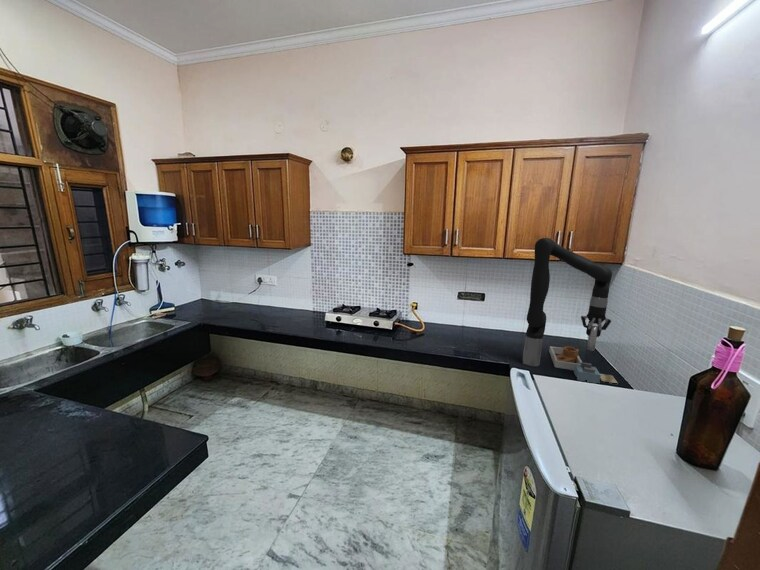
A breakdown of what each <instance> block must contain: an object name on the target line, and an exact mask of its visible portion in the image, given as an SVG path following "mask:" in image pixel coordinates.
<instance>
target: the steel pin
mask: <svg viewBox="0 0 760 570" xmlns="http://www.w3.org/2000/svg"><path fill="white" fill-rule="evenodd" d="M590 329H591V330H590V336H588V337H587V343H586V348H585V349H586V350H588V351H592V352H593V351H595V349H596V345H597V338H598V337H597V333H598V325H594V324H593V325H592V326H591V328H590Z"/></svg>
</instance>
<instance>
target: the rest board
mask: <svg viewBox="0 0 760 570" xmlns="http://www.w3.org/2000/svg"><path fill="white" fill-rule="evenodd" d="M600 375H601V377H600V382H602V381H603V382H602V383H605V382H609V383H608V384H612V383H617V384H616V385H618V384H619V382H618V381H617V380H616V379H615V377H614V375H611V374H605V373H600Z"/></svg>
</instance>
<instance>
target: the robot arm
mask: <svg viewBox="0 0 760 570" xmlns="http://www.w3.org/2000/svg"><path fill="white" fill-rule="evenodd" d="M551 256H552V257H555V258H557V259H559V260H561V261H563V262H564V263H566V264H567V265H568V266H570V267H572V268H574V269H576V270H578V271H580V272H582V273H585V274H587V275H588V276H590V277H591V278H593V279H594V285H593V286H592V291H591V297H590V300H589V306H588V311H587V312H588V313H587V314H586V315H581V316H580V318H581V322H582V326H583V328H585V329H586V332H585V334H586V335H587V336H588V337H589V336H590V330H591V329H590V328H591V326H592V325H593V326H594V325H596V326H598V333H597V338H599V337H600V336H601V333H602V331H606V330H607V329H608V327H609V326H610V324H611V323H612V320H611V319H610V318H607V317H606V314H607V307H608V301H609V300H608V299H609V298H608V297H609V294H610V293H609V292H610V284H611V281H612V277H613V272H612V270H611V268H609V267H606V266H603V265H602V266H601V265H599V264H597V263H595V262H594V261H593V260H591V259H588V258H587V257H584V256H582V255H580V254H577V253H575V252H573V251H571V250H569V249H567V248H564V247H563V246H562V245H560V244H558V243H557V242H555V241H554V240H553V239H552V238H550V237H542V238H539V239H538V240H537V241H536V242H535V243H534V262H533V270H532V275H531V282H530V292H529V293H530V295H529V306H528V310H527V314H526V321H527V323H528V325H527V329H526V331H525V332H526V333H525V339H524V340H525V341H524V345H523V350H522V351H523V352H522V364H523V365H527V366H530V367H539V366H540V363H541V355H542V348H543V340H544V336H545V335H544V334H545V331H546V325H547V314H546V312H544V305H545V301H546V299H547V296H548V293H549V289H550V280H551V274H550V267H549V265H550V258H551ZM586 320H588V321H587V322H588V323H587V322H586ZM603 322H604V323H603ZM602 324H603V325H602Z"/></svg>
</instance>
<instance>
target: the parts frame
mask: <svg viewBox="0 0 760 570" xmlns="http://www.w3.org/2000/svg"><path fill="white" fill-rule="evenodd" d="M548 351H549V355H550V357H551V361H552V363H553V367H554V368H555V369H556V368H558V369H562V370H563V369H564V370H569V371H574V367H575V364H578V365H581V362H583V361H582V359H581V357H580V356H579V355H578V356H577V358H576V362H575V363H571V362H564V361H558V360H557V357H556V354H557V355H559V354H562V353H563V347H559V346H551V345H550V346H549V350H548Z"/></svg>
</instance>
